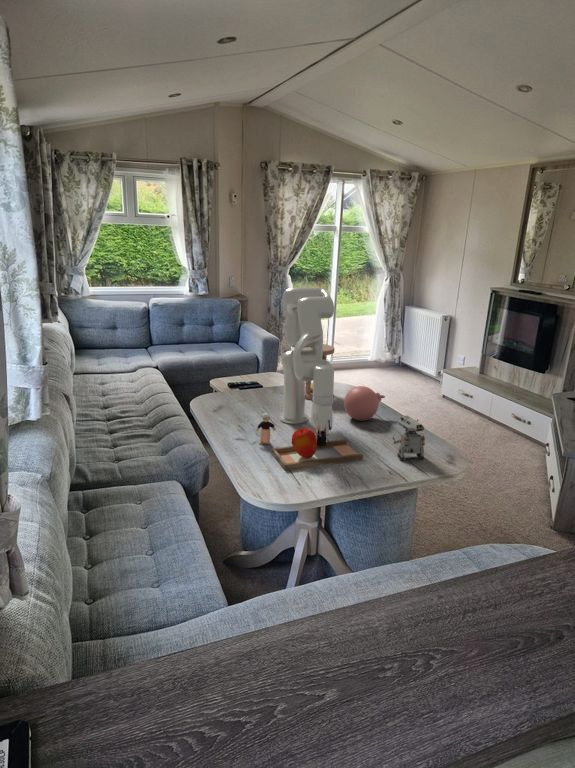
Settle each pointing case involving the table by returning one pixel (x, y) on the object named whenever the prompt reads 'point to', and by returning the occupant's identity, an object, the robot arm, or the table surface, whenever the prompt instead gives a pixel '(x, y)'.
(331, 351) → the hourglass
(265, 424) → the grandmother figurine
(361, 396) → the balloon
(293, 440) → the apple
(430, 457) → the table surface
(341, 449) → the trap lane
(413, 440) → the figurine
